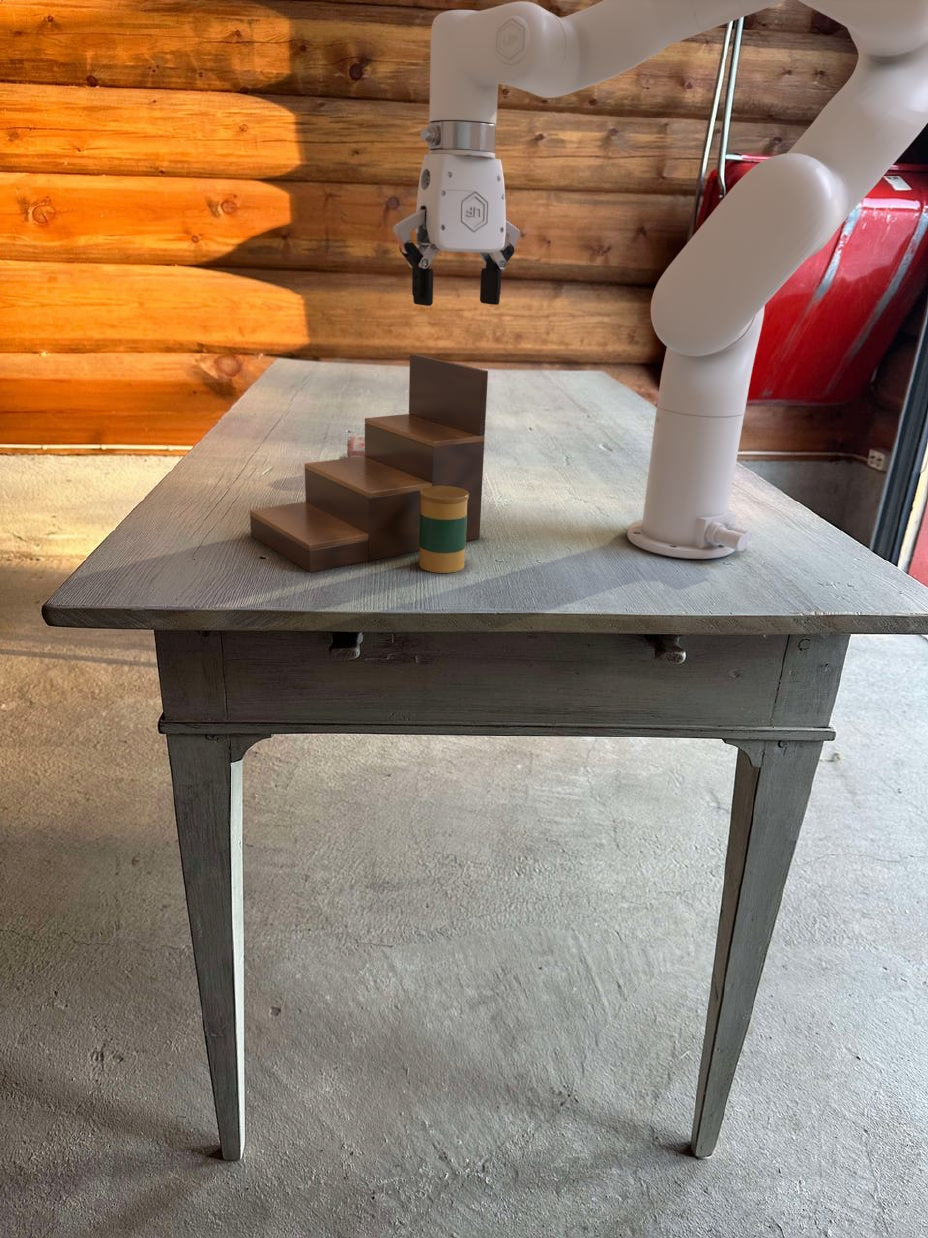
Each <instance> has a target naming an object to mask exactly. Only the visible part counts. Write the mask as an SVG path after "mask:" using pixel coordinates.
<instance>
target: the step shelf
mask: <svg viewBox="0 0 928 1238" xmlns="http://www.w3.org/2000/svg"><path fill="white" fill-rule="evenodd" d="M408 376H409V378H408V380H409V382H408V383H409V384H408V389H409V390H408V392H409V393H408V413H406V414H394V415H393V414H392V415H384V416H374V417H373V416H372V417H365V418H364V437H365V456H361V457H353V458H345V459H339V458H337V459H330V460H322V461H321V460H320V461H313V462H305V463H304V495H305V501H299V502H292V503H287V504H280V505H273V506H267V507H260V508H252V509H249V522H250V523H249V525H250V536H251V537H253V538H255V539H256V540H258V541H259V542H261V543H262V544H264V545H265V546H268V548H270V549H272V550H274V551H275V552H277V553H278V554H280V555H282V556H284V557H285V558H286V559H288V560H289V561H291V562H292V563H294V564H295V565H297V566H299V567H300V568H302V569H303V570H305V571H306V572H309V573H315V572H318V571H325V570H330V569H336V568H340V567H344V566H345V567H346V566H350V565H354V564H355V565H356V564H360V563H364V562H365V563H366V562H370V561H375V560H381V559H386V558H389V557H391V558H392V557H396V556H400V555H406V554H410V553H415V552H420V546H419V533H420V511H421V497H420V491H421V490H422V489H423V488H426V487H431V486H452V487H458V488H461V489H464V490H466V491H468V493H469V497H468V499H467V530H466V542H470V541H476V540H480V534H481V518H482V517H481V516H482V499H483V498H482V497H483V479H484V478H483V476H484V457H485V439H486V438H485V437H486V436H485V434H486V419H487V418H486V417H487V399H488V398H487V397H488V380H489V378H488V377H489V371H488V370H486V369H482V368H477V367H473V366H469V365H464V364H460V363H455V362H451V361H447V360H443V359H439V358H435V357H429V356H425V355H422V354H417V353H410V354H409V375H408Z"/></svg>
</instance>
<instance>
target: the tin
mask: <svg viewBox="0 0 928 1238" xmlns="http://www.w3.org/2000/svg"><path fill="white" fill-rule="evenodd" d="M420 497H421V511H420V533H419V546H420V551H419V555H418V556H419V558H418V565H419V567H420V568H421V570H422V569H423V570H425V571H427V572H431V573H438V574H450V573H451V574H452V573H456V572H459V571H462V570H463V569H465V561H466V560H465V559H466V546H467V541H466V530H467V499H468V497H469V493H468V491H466V490H464V489H461V488H458V487H452V486H431V487H426V488H423V489H422V490H421V491H420Z"/></svg>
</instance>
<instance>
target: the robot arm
mask: <svg viewBox="0 0 928 1238" xmlns="http://www.w3.org/2000/svg"><path fill="white" fill-rule="evenodd" d="M797 1H798V2H800V3H802V4H804V5H806V6H807V7H809V8H810V9H812V10H815V11H817V12H818V13H821V14H822V15H824V16H826V17H828V18H830V19H831V20H833V21H835V22H837V23H838V24H840V25H842V26H844V27H845V28H847V31H848V33H849V35H850V37H851V40H852V41H853V43H854V45H855V47H856V50H857V53H858V56H857V57H858V58H857V62H856V65H855V68H854V71H853V72H852V74H851V76H850V77H849V79H848V80H847V82H846V83H844V85H843V86H842V87H841V88H840V89H839V90H838V91H837V93H836V94H835V95H833V97H832V98H831V99H830V100H829V101H828V102H827V104H826V105H825V106H824V107H823V109H822V110H821V111H820V113H819V114H818V115H817V116H816V118H815V119H814V120H813V122H812V123H811V124H810V126H809V127H808V128H807V129H806V130H805V131H804V133H802V135H801V136H800V137H799V138H798V140H797V141H796V142H795V143H794V144H793V145H792V146H791V148H790V149H789V150H788V151H787V152H786V153H780V154H776V155H773V156H770V157H767V158H766V159H764V160H762V161H760V162H758V163H757V164H756V165H754V166H753V167H752V168H750V169H749V170H748V171H747V172H746V173H745V174H744V175H743V176H742V177H741V178H740V179H739V180H738V181H736V183H735V184H734V185H733V186H732V188H731V189H730V190H729V191H728V192H727V194H726V195H724V197H723V199H722V200H721V201H720V202H719V203H718V204H717V206H716V207H715V208H714V209H713V211H712V212H711V214H709V216H708V217H707V218H706V220H705V221H704V222H703V223H702V224H701V226H700V227H699V228H698V230H696V232H695V233H694V234H693V235H692V237H691V238H690V240H689V241H687V243H686V244H685V246H684V247H683V248H682V249H681V251H680V252H679V253H678V254H677V255H676V256H675V258H674V259H673V260H672V261H671V262H670V264H669V265H668V266H667V268H666V269H665V271H664V272H663V274H662V275H661V276H660V278H659V280H658V281H657V283H656V285H655V288H654V289H653V294H652V297H651V302H650V319H651V323H652V327H653V330H654V332H655V334H656V336H657V338H658V339H659V340H660V342H661V343H662V344H663V345H664V346H665V347H666V349H665V354H664V359H663V365H662V370H661V375H660V382H659V387H658V388H659V389H658V396H657V402H656V403H657V404H656V410H655V417H654V426H653V432H652V433H653V435H652V441H651V449H650V456H649V457H650V458H649V465H648V472H647V473H648V474H647V482H646V488H645V489H646V490H645V498H644V504H643V505H644V506H643V512H642V513H643V514H642V519H640V520H639V519H638V520H636V521H634V522H632V523H631V524H629V526H628V528H627V535H626V536H627V539H628V541H629V542H630V543H632V545H634V546H636V547H638V548H640V549H642V550H645V551H647V552H651V553H654V554H658V555H661V556H667V557H672V558H679V559H690V560H708V559H709V560H710V559H717V558H723V557H726V556H729V555H731V554H733V553H734V552H735V551H737V552H743V551H744V550H745V549H746V548H747V546H748V543H749V542H750V541H751V539H752V535H753V532H752V531H751V530H749V529H747V528H743V527H738V526H736V524H735V523H736V517H737V512H735V511H732V510H729V509H730V504H731V503H730V502H731V497H732V491H733V485H734V477H735V472H736V467H737V460H738V453H739V449H740V443H741V436H742V431H743V423H744V418H745V413H746V408H747V401H748V396H749V389H750V384H751V378H752V374H753V367H754V363H755V358H756V354H757V349H758V344H759V340H760V336H761V332H762V327H763V322H764V318H765V317H764V316H765V306H766V304H768V302H769V301H770V300H771V299H772V298H773V297H774V296H775V295H776V293H778V291H779V290H780V289H781V288H782V287H783V286H784V285H785V284H786V282H787V281H789V279H790V278H791V277H792V276H793V275H794V273H796V272H797V270H798V269H800V267H801V266H802V265H803V264H804V262H806V260H808V259H810V258H811V257H813V256H815V255H816V254H817V253H819V252H820V251H821V250H823V249H824V247H826V245H827V244H828V243H829V242H830V241H831V240H832V238H833V237H834V235H835V234H836V232H837V230H838V229H839V228H840V227H841V225H842V224H843V223H844V222H845V221H846V220H847V218H848V217H849V216H850V214H852V212H853V211H854V210H855V209H856V208H857V206H859V204H860V203H861V202H862V201H863V200H864V199H865V198H866V197H867V196H868V194H869V193H870V192H871V191H872V190H873V189H874V187H875V186H876V185H877V184H878V183H879V182H880V181H881V179H882V178H883V177H884V176H885V174H886V173H887V172H888V171H889V169H890V168H891V167H892V166H893V165H894V164H895V163H896V162H897V160H898V159H899V158H900V157H901V156H902V155H903V153H905V151H906V150H907V149H908V148H909V147H910V145H911V144H912V143H913V142H914V141H915V139H916V138H917V137H918V136H919V135H920V133H922V131H923V130H924V128H925V127H926V125H927V124H928V0H797ZM783 2H787V0H601V1H599V2H597V3H595V4H593V5H590V6H589V7H587V8H583V9H581V10H578V11H576V12H574V13H571V14H568V15H566V16H563V17H559V16H558V15H556V14H554V13H552V12H551V11H549V10H547V9H545V8H544V7H542V6H540V5H539V4H537V3H534V2H531V1H521V0H520V1H514V2H509V3H504V4H501V5H498V6H497V5H496V6H494V7H491V8H486V9H483V10H474V9H473V10H472V9H452V10H446V11H443V12H440V13H439V14H438V15H436V16H435V18H434V19H433V21H432V23H431V29H430V51H429V52H430V54H429V55H430V56H429V57H430V60H429V106H428V107H429V111H428V113H429V114H428V116H429V117H428V124H427V126H428V127H422V128H421V130H420V133H419V135H420V140H421V141H422V142H426V143H427V150H428V154H424V155H423V160H422V163H421V169H420V174H419V179H418V187H417V195H416V208H415V209H416V210H415V212H413V213H412V214H410V215H409V216H407V217H405V218H403V219H402V220H399V222H397V223H395V224H394V225H393V226H392V233H393V234H394V237H395V239H396V242H397V244H398V248H399V252H400V253H401V255H402V256H403V258H405V260H406V261H407V265H408V266H409V267H410V268H411V269H412V270H411V271H412V275H411V276H412V277H411V294H412V297H413V299H412V301H413V303H414V304H415V305H417V306H418V305H420V306H424V307H430V306H432V305H433V303H434V269H433V268H430V265H431V263H433V260H434V259H435V258H436V256H437V255H438V254H439V252H440V251H444V252H452V253H453V252H455V253H478V256H479V257H480V259H481V260H482V263H483V264H484V266H485V267H482V268H481V270H480V290H479V301H480V303H481V304H486V305H491V306H498V305H499V304H500V299H501V291H502V271H503V270H505V269H506V268H507V266H508V264H507V263H508V262H509V261H510V259H512V257H513V255H514V254H515V248H516V247H517V245H518V242H519V240H520V238H521V235H522V232H521V230H520V229H519V228H517V227H516V226H515V225H514V224H512V223H511V222H510V221H509V220H507V216H506V215H507V213H506V209H507V208H506V188H505V187H506V186H505V178H504V169H503V164H502V160H501V159H500V158H496V144H497V119H498V118H497V117H498V116H497V115H498V102H499V101H498V100H499V99H498V97H499V85H504V86H508V87H512V88H514V89H517V90H521V91H524V92H527V93H529V94H532V95H534V96H536V97H540V98H543V99H548V98H549V99H550V98H552V99H553V98H560V97H563V96H566V95H570V94H573V93H576V92H578V91H581V90H584V89H587V88H590V87H592V86H595V85H598V84H601V83H603V82H606V81H608V80H611V79H614V78H615V77H618V76H620V75H622V74H624V73H626V72H628V71H630V70H632V69H633V68H635V67H637V66H639V65H640V64H642V63H644V62H646V61H647V60H649V59H652V58H653V57H655V56H657V55H659V54H660V53H661V52H662V51H664V50H665V49H667V48H668V47H671V46H672V45H674V44H677V43H679V42H681V41H684V40H686V39H687V40H688V39H689V38H691V37H694V36H697V35H699V34H702V33H704V32H707V31H710V30H713V29H715V28H717V27H720V26H723V25H726V24H728V23H731V22H733V21H736V20H739V19H741V18H744V17H746V16H750V15H753V14H754V13H758V12H760V11H764V10H765V9H768V8H770V7H773V6H776V5H778V4H782V3H783ZM413 231H415V238H416V239H415V240H416V244H417V245H416V244H415V243H414V242H413V240H412V235H411V234H412V232H413Z"/></svg>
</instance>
